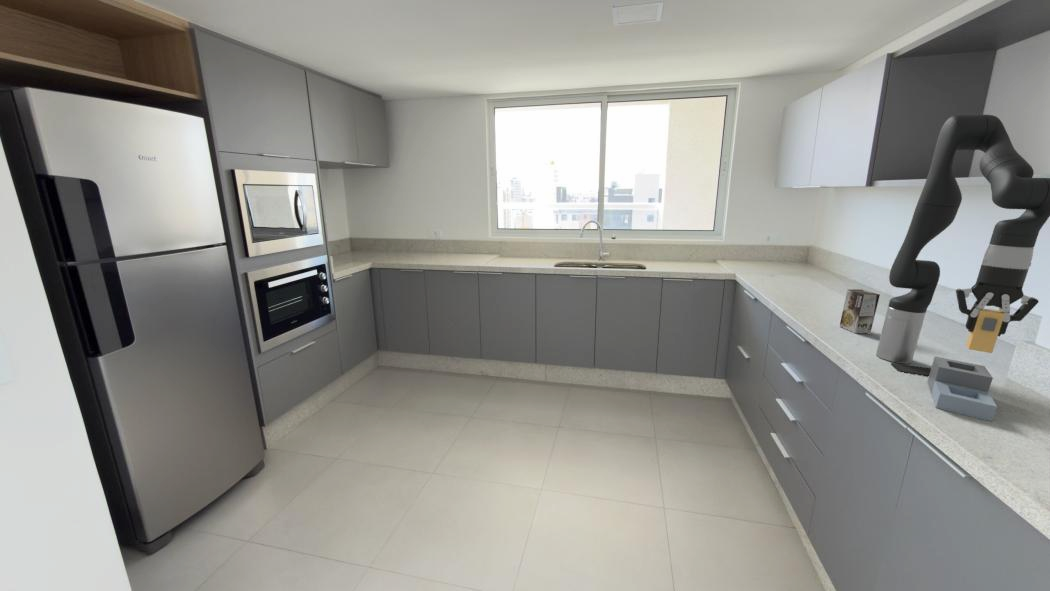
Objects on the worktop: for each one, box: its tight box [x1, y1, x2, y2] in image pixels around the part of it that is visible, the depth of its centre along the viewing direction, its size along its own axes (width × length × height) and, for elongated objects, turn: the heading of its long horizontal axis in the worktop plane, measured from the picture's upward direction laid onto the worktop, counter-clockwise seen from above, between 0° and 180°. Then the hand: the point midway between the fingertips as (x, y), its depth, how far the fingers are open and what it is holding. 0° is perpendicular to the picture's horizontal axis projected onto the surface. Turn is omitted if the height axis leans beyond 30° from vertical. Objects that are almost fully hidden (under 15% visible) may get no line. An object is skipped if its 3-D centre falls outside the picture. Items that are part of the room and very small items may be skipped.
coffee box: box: [839, 288, 881, 334], centre depth 166 cm, size 9×6×16 cm
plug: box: [965, 307, 1005, 354], centre depth 103 cm, size 5×4×10 cm
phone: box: [890, 362, 931, 377], centre depth 129 cm, size 7×1×15 cm
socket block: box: [927, 356, 998, 422], centre depth 111 cm, size 20×10×8 cm, turn 141°
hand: (983, 332), depth 103 cm, fingers closed on plug, 4 cm apart
